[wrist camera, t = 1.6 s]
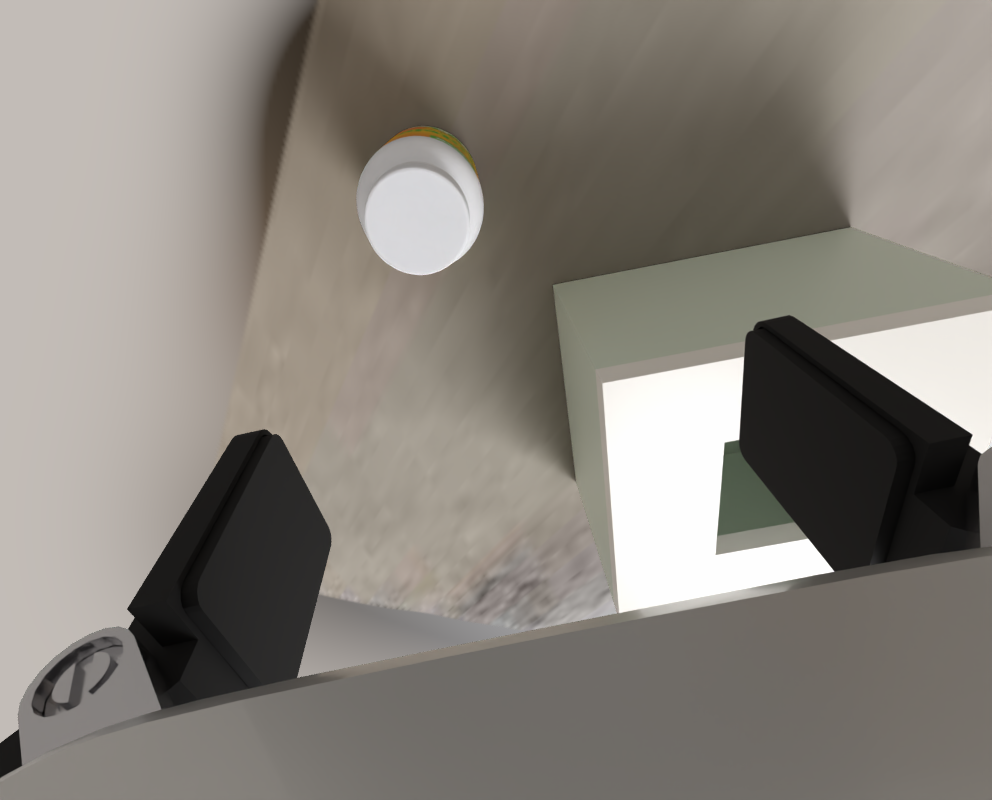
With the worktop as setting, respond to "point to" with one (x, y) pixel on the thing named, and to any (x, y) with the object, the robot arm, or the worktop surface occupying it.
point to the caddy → (718, 393)
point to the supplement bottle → (420, 200)
